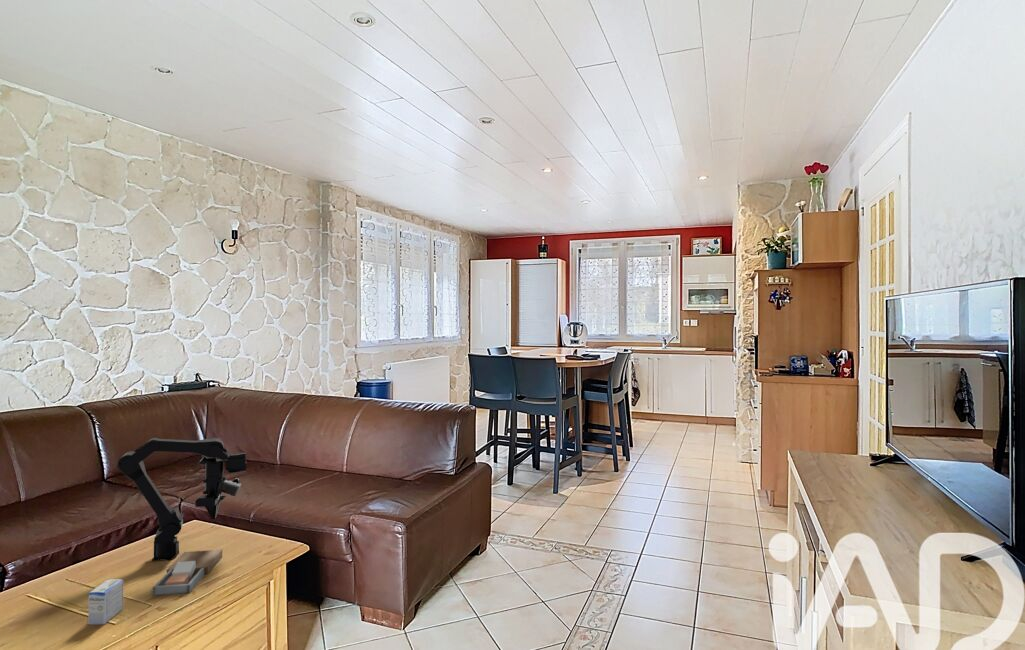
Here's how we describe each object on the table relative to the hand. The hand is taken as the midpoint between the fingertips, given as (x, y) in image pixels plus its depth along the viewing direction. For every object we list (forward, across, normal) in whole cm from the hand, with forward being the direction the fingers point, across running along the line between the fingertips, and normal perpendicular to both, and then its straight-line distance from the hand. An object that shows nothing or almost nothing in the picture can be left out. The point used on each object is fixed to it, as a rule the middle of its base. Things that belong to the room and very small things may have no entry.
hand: (213, 518), depth 198 cm
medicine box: (+11, -44, +13) cm, 47 cm away
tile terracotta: (+11, -29, +1) cm, 31 cm away
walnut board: (+11, -14, +1) cm, 18 cm away
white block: (+9, -23, +1) cm, 25 cm away
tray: (+11, -27, +1) cm, 29 cm away
